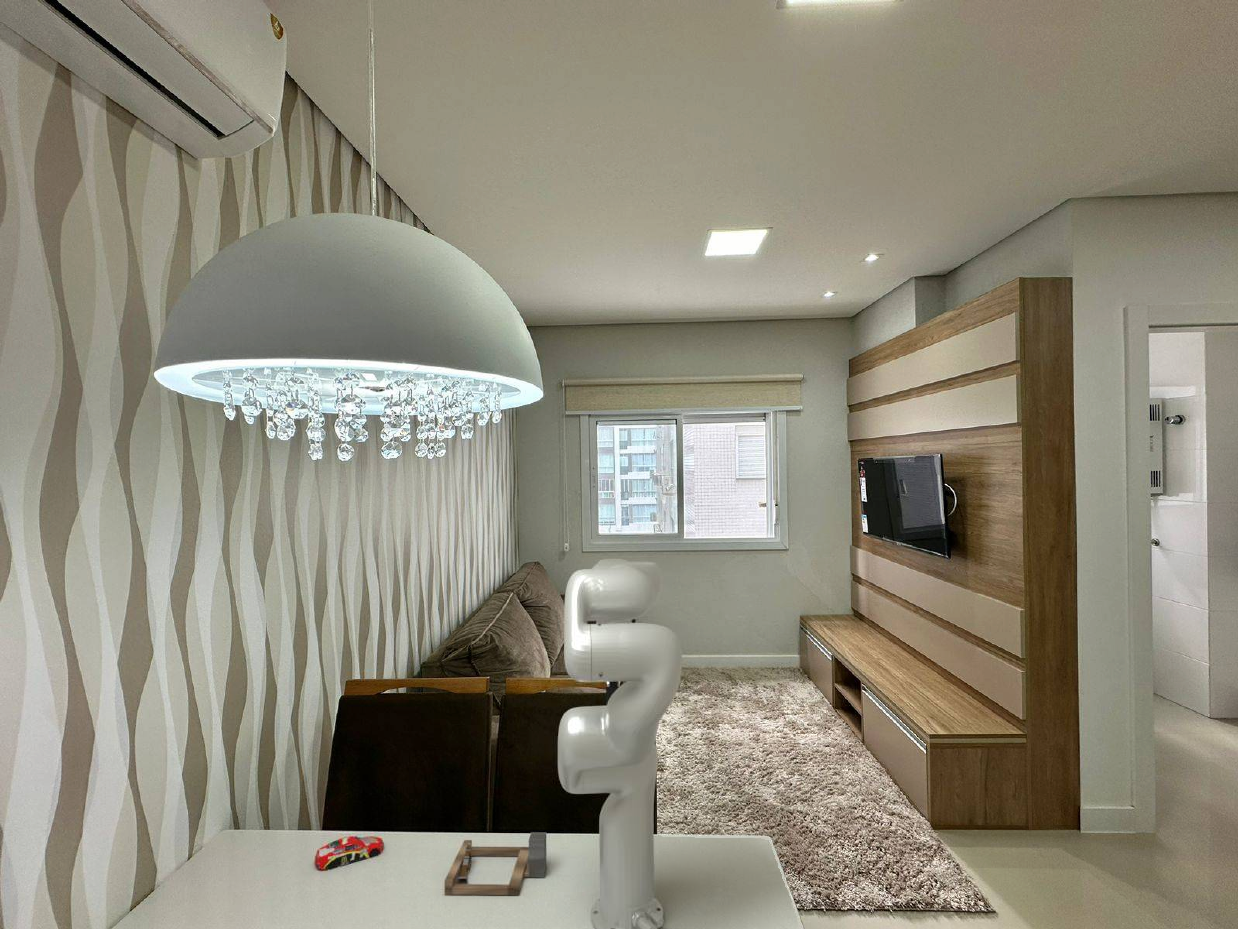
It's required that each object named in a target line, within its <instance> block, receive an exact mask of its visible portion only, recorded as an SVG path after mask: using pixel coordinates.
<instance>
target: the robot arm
mask: <svg viewBox="0 0 1238 929" xmlns="http://www.w3.org/2000/svg"><path fill="white" fill-rule="evenodd" d="M662 591H663V576H662V572H661V569H660V567H659V565H658V564H657V563H656V562H652V561H629V560H627V559H624V558H603V559H601V560H599V561H597V563H596V564H594V565H593V567H592V568H584V569H578V570H576V571H574V572H573V573H572V575H570V577H569V579H568V582H567V584H566V588H565V595H564V610H563V611H564V614H563V616H564V618H563V620H564V621H563V622H564V624H563V626H564V629H563V630H564V631H563V632H564V633H563V634H564V635H563V638H564V639H563V640H564V641H563V642H564V643H563V644H564V645H563V647H564V649H563V657H564V658H563V659H564V665H565V666H564V667H565V670H566V672H567V675H568V676H569V677H570V678H571V679H572V680H573V681H576V682H580V683H606V685H605V705H592V706H588V705H586V706H578V707H577V706H576V707H573V708H570V709H568V710H567V711H566V712H564V713H563V715H562V717H561V719H560V722H559V726H558V736H557V770H558V771H557V773H558V779H559V781H560V784H561V787H562V789H564V790H565V791H566V792H567V793H570V794H573V795H574V794H575V795H580V794H581V795H584V794H586V795H587V794H609V795H608V797H607V798H606V800H605V802H604V803H603V805H602V807H601V811H600V814H599V820H598V821H599V822H598V823H599V824H598V825H599V826H598V828H599V829H598V830H599V831H598V832H599V833H598V834H599V837H598V838H599V839H598V840H599V841H598V842H599V844H598V845H599V847H598V848H599V898H598V899H597V900H596V901H595V902H594V903H593V905H592V907H591V912H590V918H591V923H592V925H593V927H594V928H595V929H660V928H662V927H663V925H664V923H665V921H664V908H663V905H662V904H661V902H660V901H658V899H657V898H656V897H655V854H654V853H655V852H654V851H655V848H654V847H655V845H654V843H655V842H654V836H655V834H654V833H655V832H654V828H655V827H654V826H655V825H654V803H655V790H656V781H657V773H658V767H659V766H658V764H659V753H658V748H657V745H656V744H655V742H656V738H657V734H658V730H659V725H660V721H661V720H662V718H663V716H664V715H665V713H666V712H667V710H668V709H670V708H669V707H671V704H672V703H673V701H674V699H675V697H676V694H677V691H678V688H679V685H680V681H681V677H682V676H681V675H682V669H683V650H682V645H681V642H680V639H679V637H678V636H677V634H676V633H675V632H674V630H672V629H670V628H668V627H666V626H663V625H660V624H657V623H649V622H648V623H647V622H632V620H636V619H639V618H641V617H643V616H645V615H646V614H647V613H648V612H649V611H650V610H651V608H652V606H653V604H655V603H657V602H658V601H660V600H659V599H660V597H661V596H662ZM588 622H596V623H588Z"/></svg>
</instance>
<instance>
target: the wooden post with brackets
mask: <svg viewBox="0 0 1238 929" xmlns="http://www.w3.org/2000/svg"><path fill="white" fill-rule="evenodd" d="M472 847H473V845H472V846H471V843H468V844H467V846H466V850H465V851H466V854H465V857H464V859H463V868H462V872H461V875H460V877H458V878H457V881H458V884H469V883H468V876H467V873H468V872H470V871H471V866H472V864H471V863H472V856H471V848H472Z"/></svg>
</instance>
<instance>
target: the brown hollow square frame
mask: <svg viewBox="0 0 1238 929" xmlns="http://www.w3.org/2000/svg"><path fill="white" fill-rule="evenodd" d="M472 842H473V841H472V839H464V840H463V842H462V844H461V846H460V848H459V850H458V853H457V855H456V856H455V858H454V860H453V863H452V865H451V867H450V869H449V871H448V873H447V875H446V877H445V879H444V895H445V896H446V895H447V896H448V895H452V896H455V895H458V896H459V895H463V896H464V895H465V896H469V895H471V896H472V895H473V896H477V895H478V896H481V895H482V896H483V895H484V896H485V895H486V896H487V895H488V896H519V895H520V891H521V889H522V888H521V887H522V884H523V881H524V878H545V876H546V872H547V832H546V831H545V832H536V831H535V832H534V831H533V832H530V835H529V837H528V846H473V844H472ZM468 843H471V846H472V848H471V856H473V857H476V856H479V857H481V856H482V857H517V858H516V861H515V865H514V866H513V871H512V875H511V877H510V880H509V882H508V884H506V883H505V884H502V883H501V884H500V883H499V884H497V883H496V884H495V883H494V884H491V883H490V884H489V883H488V884H487V883H486V884H482V883H481V884H479V883H477V884H476V883H475V884H474V883H470V884H469V883H467V884H458V881H457V878H458V877H460V875H461V872H462V868H463V859H464V857H465V854H466V851H465V850H466V846H467V844H468Z"/></svg>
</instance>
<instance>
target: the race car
mask: <svg viewBox="0 0 1238 929" xmlns="http://www.w3.org/2000/svg"><path fill="white" fill-rule="evenodd" d="M384 848H385V843H384V840H383V839H382V838H381V837H378V836H375V835H374V836H362V837H358V836H357V835H355V836H354V835H353V836H351V835H350V836H345V837H342V838H338V839H335V840H334V841H332V842H329V843H327V844H326V845H324V846H321V847H319V849H317V851H316V855H314V856H315V857H314V863H315V867H316V869H318V870H323V871H324V870H330V871H331V870H333V869H338V867H339V866H340V867H342V866H346V865H349V864H352V863H356V862H359V861H362V860H367V859H369V858H370V859H372V858H376V857H378V856H379V855H380V854H381V853H382V852H383V850H384Z"/></svg>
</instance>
